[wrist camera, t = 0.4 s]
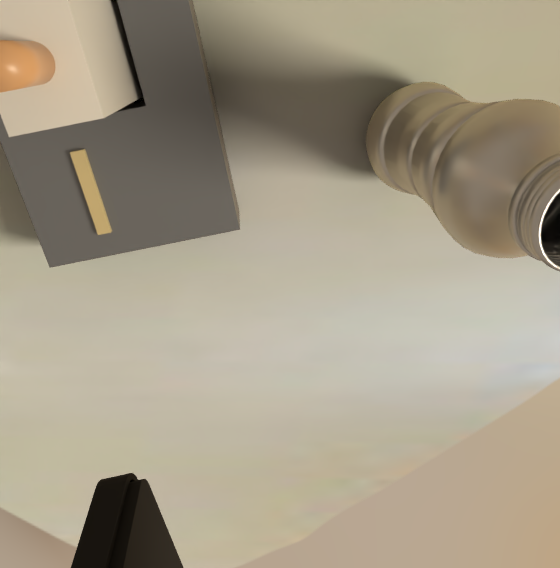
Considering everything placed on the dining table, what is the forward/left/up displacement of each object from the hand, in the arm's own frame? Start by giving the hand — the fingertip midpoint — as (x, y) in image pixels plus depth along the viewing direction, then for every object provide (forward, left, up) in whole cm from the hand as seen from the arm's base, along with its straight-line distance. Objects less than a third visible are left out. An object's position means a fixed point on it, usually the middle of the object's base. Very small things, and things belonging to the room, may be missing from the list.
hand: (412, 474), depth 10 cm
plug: (-8, -9, -29) cm, 31 cm away
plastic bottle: (0, +9, -29) cm, 30 cm away
